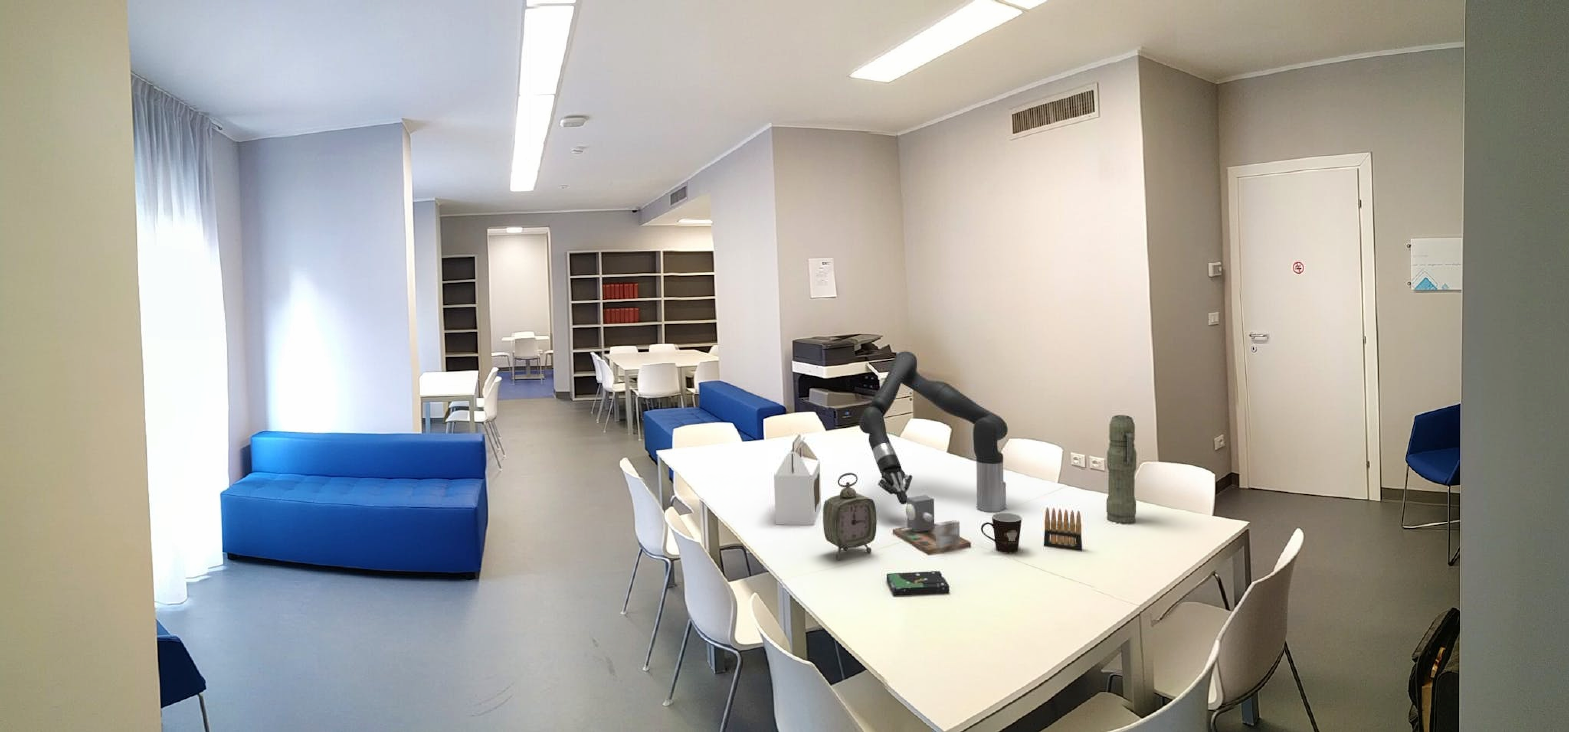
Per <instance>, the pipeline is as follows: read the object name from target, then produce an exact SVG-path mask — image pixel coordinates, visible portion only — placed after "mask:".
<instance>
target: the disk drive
mask: <svg viewBox="0 0 1569 732" xmlns="http://www.w3.org/2000/svg"><path fill="white" fill-rule="evenodd" d="M886 583H887V585H888V587H889V589H890V591H891V594H892V596H893V597H907V596H908V597H909V596H927V595H945V594H947V595H948V594H950V585H949V583H948V581H947V580H946V579H945V577H944V576H943V575H942V572H941V571H940V570H931V571H915V572H913V571H911V572H910V571H909V572H891V573H886Z"/></svg>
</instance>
